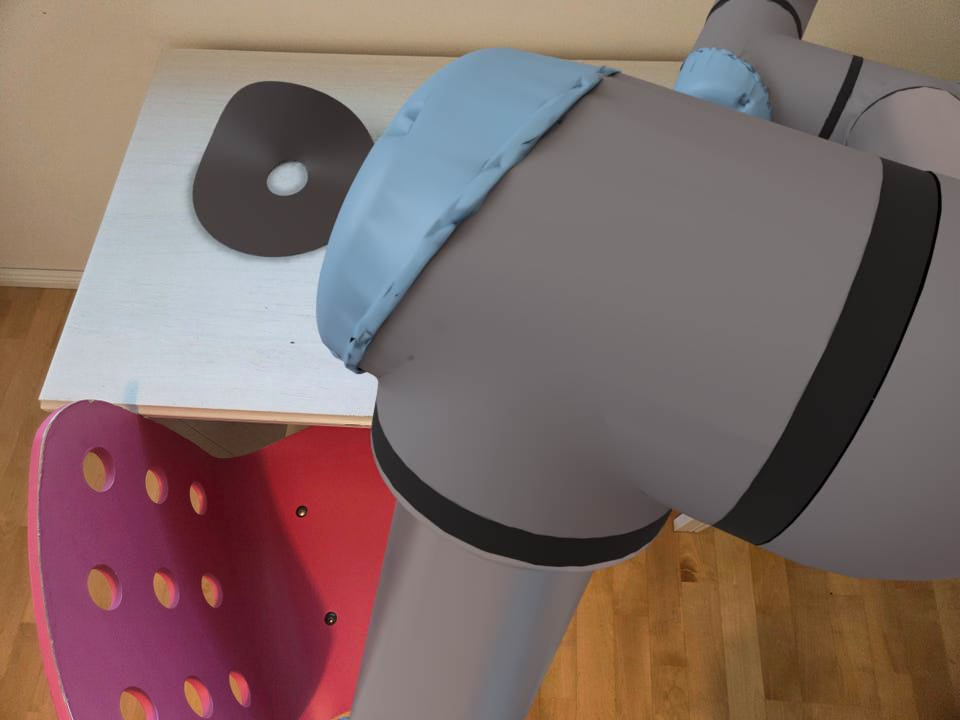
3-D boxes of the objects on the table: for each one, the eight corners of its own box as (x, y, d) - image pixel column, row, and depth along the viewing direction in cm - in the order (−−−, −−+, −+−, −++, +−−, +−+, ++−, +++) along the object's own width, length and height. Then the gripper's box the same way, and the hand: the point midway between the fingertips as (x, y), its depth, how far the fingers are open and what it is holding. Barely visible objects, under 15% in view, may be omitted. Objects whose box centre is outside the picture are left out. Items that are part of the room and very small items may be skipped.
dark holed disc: (161, 239, 88) (125, 188, 80) (221, 125, 97) (194, 68, 88) (348, 271, 85) (331, 222, 77) (392, 150, 94) (381, 94, 85)
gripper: (839, 69, 66) (760, 218, 87) (622, 58, 68) (594, 207, 88) (849, 128, 63) (764, 268, 83) (621, 115, 64) (592, 255, 85)
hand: (677, 236), depth 86 cm, fingers open, 8 cm apart
